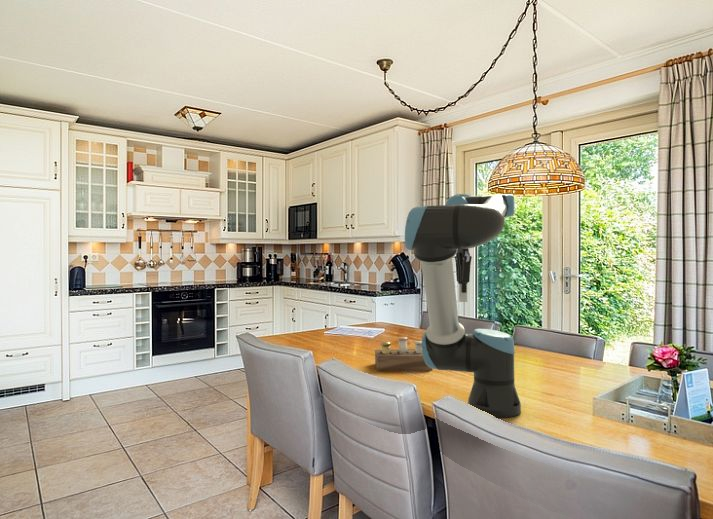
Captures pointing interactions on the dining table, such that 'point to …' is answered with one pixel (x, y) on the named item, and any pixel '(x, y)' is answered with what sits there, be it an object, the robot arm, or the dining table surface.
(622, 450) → the dining table surface
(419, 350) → the grey plug
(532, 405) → the dining table surface
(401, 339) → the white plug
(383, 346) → the brass plug
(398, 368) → the brown wooden block
